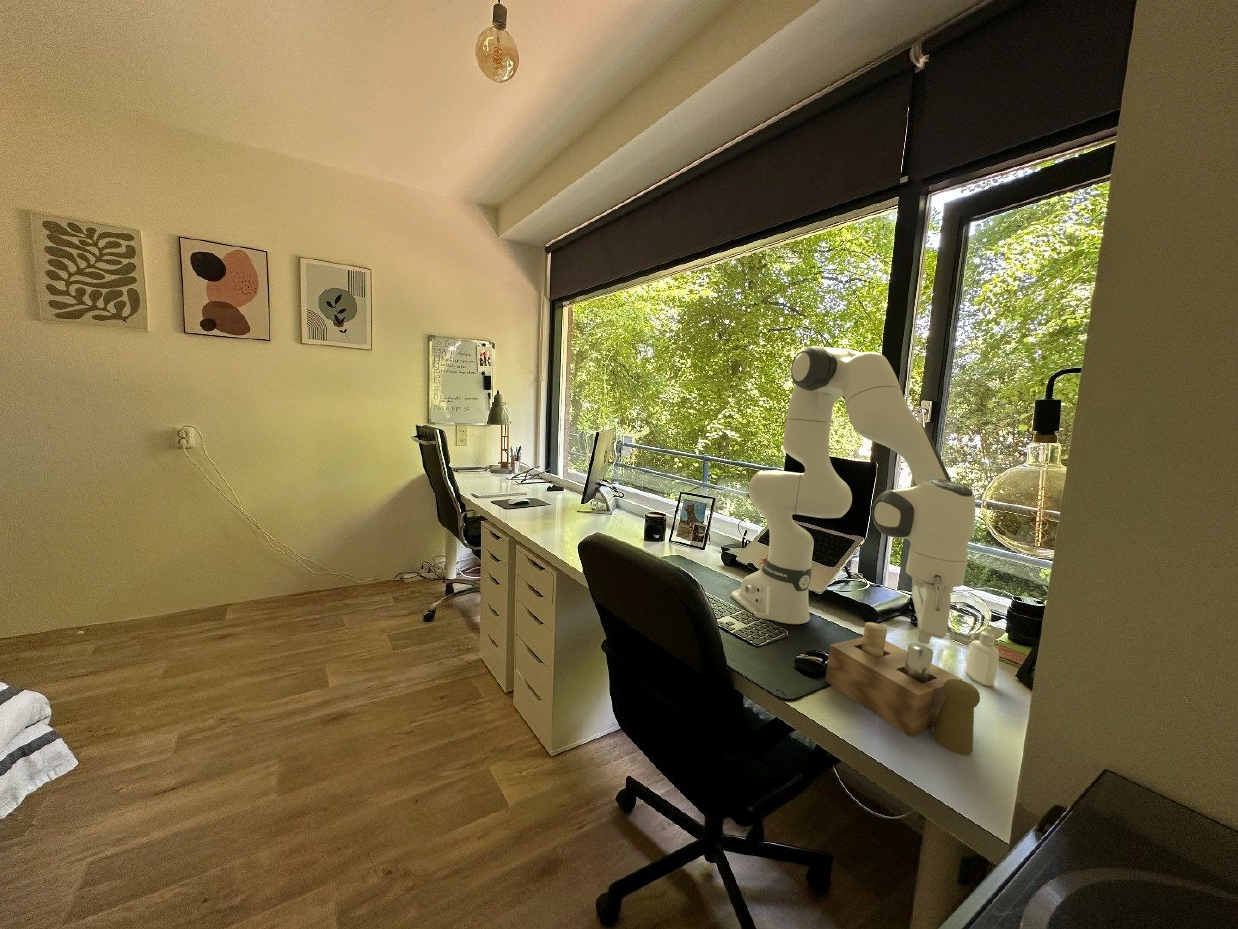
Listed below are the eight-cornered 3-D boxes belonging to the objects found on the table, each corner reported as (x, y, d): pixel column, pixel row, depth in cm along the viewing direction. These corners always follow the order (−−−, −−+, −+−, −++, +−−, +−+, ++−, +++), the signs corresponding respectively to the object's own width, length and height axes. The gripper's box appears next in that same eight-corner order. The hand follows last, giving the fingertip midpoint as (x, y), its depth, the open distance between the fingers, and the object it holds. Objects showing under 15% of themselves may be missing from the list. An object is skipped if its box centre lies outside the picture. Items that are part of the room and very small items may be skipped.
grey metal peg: (897, 683, 91) (903, 645, 90) (909, 679, 93) (916, 641, 92) (918, 695, 88) (925, 655, 87) (931, 691, 90) (938, 652, 89)
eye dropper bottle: (970, 682, 104) (980, 630, 102) (963, 670, 109) (973, 620, 108) (995, 689, 102) (1005, 636, 101) (987, 676, 107) (997, 625, 106)
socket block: (825, 681, 100) (830, 644, 99) (868, 668, 106) (873, 634, 105) (911, 737, 84) (918, 695, 83) (955, 718, 91) (962, 679, 90)
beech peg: (855, 659, 99) (860, 623, 98) (867, 656, 101) (873, 621, 100) (873, 669, 96) (879, 633, 95) (885, 666, 98) (891, 629, 97)
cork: (974, 743, 84) (986, 685, 83) (970, 760, 79) (982, 699, 78) (934, 725, 88) (944, 669, 86) (928, 741, 83) (939, 682, 82)
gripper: (965, 591, 77) (950, 671, 79) (947, 559, 95) (935, 625, 97) (920, 581, 80) (906, 659, 82) (910, 552, 98) (900, 616, 100)
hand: (922, 640), depth 89 cm, fingers closed
